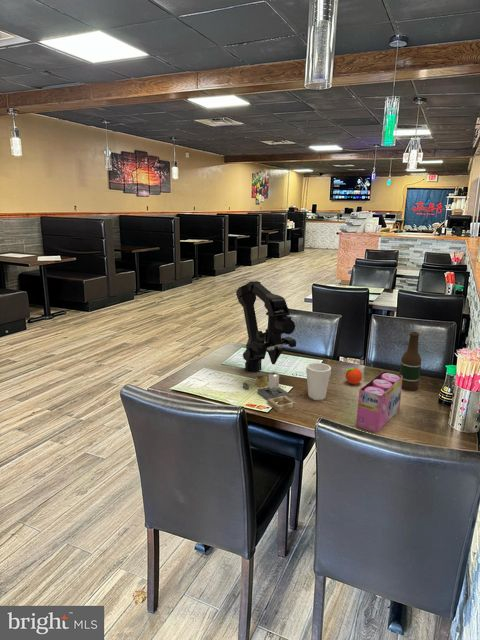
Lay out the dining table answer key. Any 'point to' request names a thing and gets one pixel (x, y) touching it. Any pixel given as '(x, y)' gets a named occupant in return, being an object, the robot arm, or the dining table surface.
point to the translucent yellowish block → (261, 381)
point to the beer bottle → (411, 364)
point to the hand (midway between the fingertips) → (273, 364)
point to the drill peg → (273, 383)
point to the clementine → (353, 375)
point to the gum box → (379, 401)
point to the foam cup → (317, 380)
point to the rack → (277, 407)
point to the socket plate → (265, 394)
